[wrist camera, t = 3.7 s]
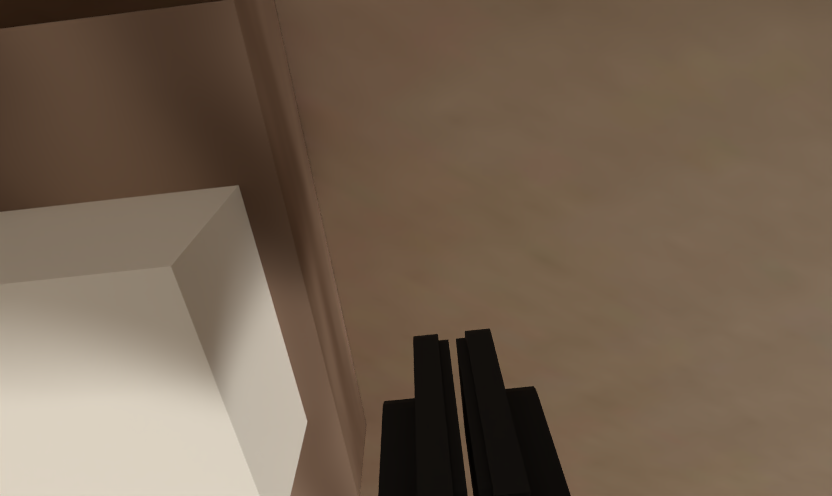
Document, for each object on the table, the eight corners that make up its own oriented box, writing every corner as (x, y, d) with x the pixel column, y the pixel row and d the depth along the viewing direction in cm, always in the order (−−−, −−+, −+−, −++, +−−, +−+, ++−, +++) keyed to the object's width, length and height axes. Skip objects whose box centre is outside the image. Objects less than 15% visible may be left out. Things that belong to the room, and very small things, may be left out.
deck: (272, -5, 14) (233, -1, 11) (366, 424, 21) (359, 501, 18) (-219, 57, 14) (-396, 78, 11) (40, 454, 22) (-22, 533, 18)
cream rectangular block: (238, 184, 12) (171, 266, 9) (307, 421, 16) (278, 545, 13) (-150, 228, 13) (-363, 323, 9) (4, 449, 17) (-107, 577, 13)
